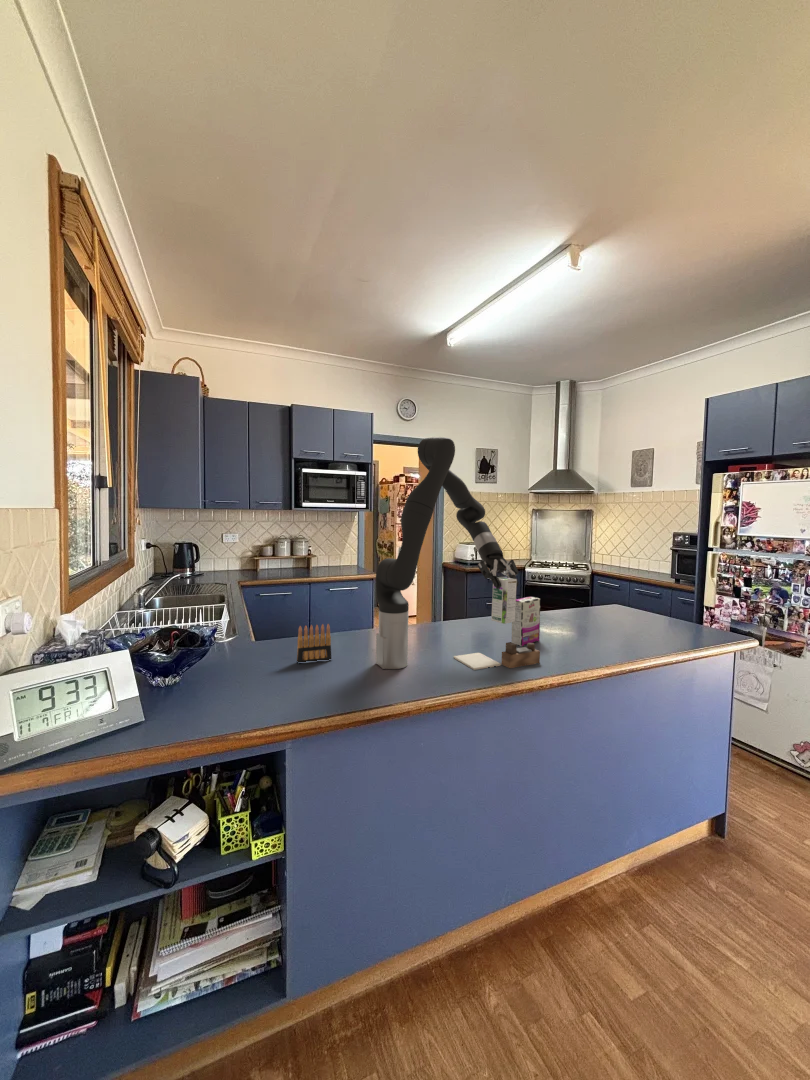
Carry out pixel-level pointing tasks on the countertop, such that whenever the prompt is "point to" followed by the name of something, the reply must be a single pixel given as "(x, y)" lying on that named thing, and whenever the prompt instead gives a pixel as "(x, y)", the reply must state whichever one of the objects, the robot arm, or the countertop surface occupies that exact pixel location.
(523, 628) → the candy bar box
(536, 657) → the body
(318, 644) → the ammunition clip
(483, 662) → the mat
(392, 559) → the robot arm
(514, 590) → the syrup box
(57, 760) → the countertop surface
